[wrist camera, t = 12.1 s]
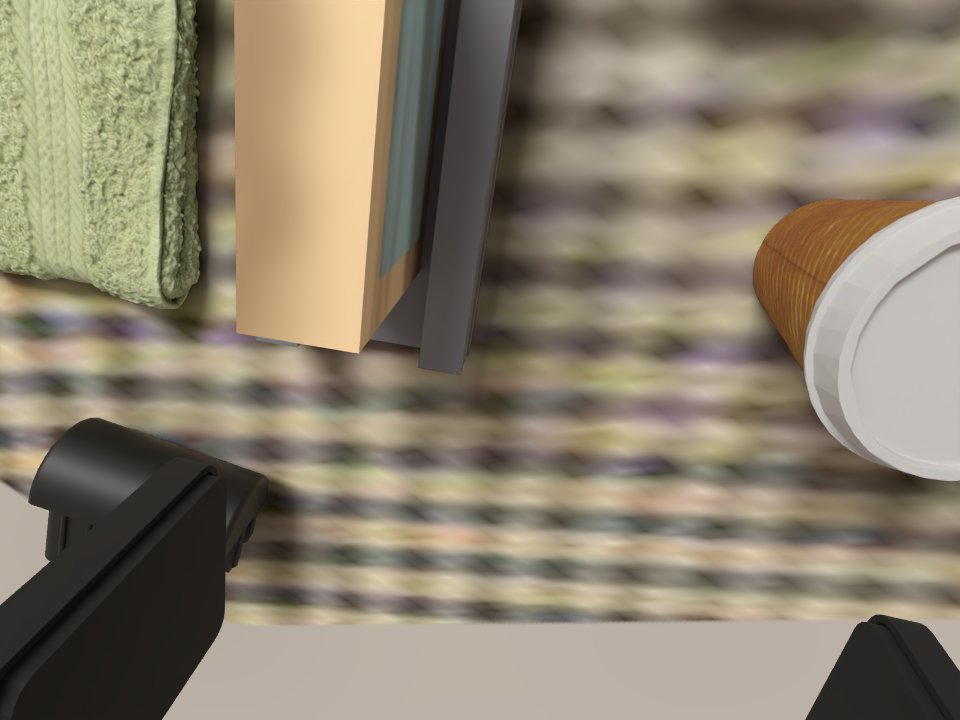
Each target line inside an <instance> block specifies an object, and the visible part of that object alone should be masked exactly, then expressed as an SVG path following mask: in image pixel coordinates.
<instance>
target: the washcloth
mask: <svg viewBox="0 0 960 720" xmlns="http://www.w3.org/2000/svg"><path fill="white" fill-rule="evenodd" d="M197 1H198V0H0V272H7V273H11V274H20V275H32V276H35V277H36V278H40V279H42V280H50V279H56V280H58V279H59V278H60V277H62V278H65V279H68V280H74V281H78V282H83V283H91V284H94V286H95V287H97V288H99V289H100V290H101V291H103V292H108V293H110V294H111V295H112V296H113V297H120V298H121V299H125V300H128V301H130V302H132V303H135V304H137V305H141V306H142V305H148V306H149V307H153V308H156V309H161V310H162V309H177V308H179V307H180V306H181V305H182V304H183V303H184V300H185V299H186V297H187V295H188V292H189V289H190V287H191V285H193V284H195V283H197V281H198V279H199V275H200V272H199V267H200V264H199V253H200V251H201V249H202V248H201V243H200V239H199V237H198V234H197V230H198V228H199V225H198V224H197V217H198V201H197V198H196V191H195V185H196V182H197V181H198V169H197V163H198V152H197V149H196V139H197V135H196V130H195V128H194V126H195V124H196V121H195V116H196V114H195V112H197V111H198V107H197V99H196V98H195V97H196V96H199V94H200V92H199V90H198V89H197V88H195V86H197V85H198V84H199V83H198V81H197V79H196V78H195V75H196V72H197V71H198V68H197V67H196V66H195V62H196V60H195V59H194V57H193V55H194V53H195V52H194V51H195V50H196V47H197V46H196V45H197V43H198V42H197V41H196V39H197V37H198V36H197V34H196V33H195V28H196V27H197V23H196V22H195V21H194V20H193V19H194V15H195V13H196V9H195V4H196V3H197Z"/></svg>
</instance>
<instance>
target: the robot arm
mask: <svg viewBox="0 0 960 720" xmlns="http://www.w3.org/2000/svg"><path fill="white" fill-rule="evenodd" d="M226 510H227V482H226V480H225V479H224V478H222V477H218V472H217V470H216V467H214V466H213V465H210V464H205V463H201V462H196V461H192V460H187V459H183V458H173V459H171V460H170V461H168V462H167V463H166V464H165V465H164V466H163V467H162V468H160V469H159V470H158V471H157V472H156V473H155V474H154V475H152V476H151V477H150V478H149V479H148V480H147V481H146V482H144V483H143V484H142V485H141V486H140V487H139V488H138V489H136V490H135V491H134V492H133V493H132V494H131V495H130V496H128V497H127V498H126V499H125V500H124V501H123V502H122V503H121V504H119V505H118V506H117V507H116V508H115V509H114V510H113V511H111V512H110V513H109V514H108V515H107V516H106V517H105V518H103V519H102V520H101V521H100V522H99V523H98V524H97V525H95V526H94V527H93V528H92V529H91V530H90V531H89V532H88V533H86V534H85V535H84V536H81V537H80V538H78V539H77V540H75V541H74V542H73V543H71V544H70V545H69V546H68V547H67V548H65V549H64V550H63V551H62V552H61V553H60V554H58V555H57V556H56V557H55V558H54V559H53V560H52V561H50V562H49V563H48V564H47V565H46V566H45V567H44V568H42V569H41V570H40V571H39V572H38V573H37V574H36V575H34V576H33V577H32V578H31V579H30V580H29V581H28V582H26V583H25V584H24V585H23V586H22V587H21V588H20V589H18V590H17V591H16V592H15V593H14V594H13V595H11V596H10V597H9V598H8V599H7V600H6V601H5V602H3V603H2V604H1V605H0V720H162V719H163V717H164V716H165V714H166V713H167V711H168V710H169V708H170V707H171V705H172V704H173V702H174V701H175V699H176V698H177V696H178V695H179V693H180V692H181V690H182V689H183V687H184V686H185V684H186V683H187V681H188V680H189V678H190V676H191V675H192V673H193V672H194V670H195V669H196V668H197V666H198V664H199V663H200V662H201V660H202V658H203V657H204V655H205V654H206V652H207V651H208V649H209V648H210V646H211V645H212V643H213V642H214V640H215V638H216V637H217V635H218V633H219V631H220V628H221V626H222V623H223V619H224V613H225V566H226ZM806 720H960V671H959V670H958V668H957V667H956V665H955V664H954V663H953V661H952V660H951V658H950V657H949V656H948V654H947V653H946V651H945V650H944V649H943V647H942V646H941V644H940V643H939V642H938V640H937V639H936V637H935V636H934V634H933V633H932V632H931V631H930V630H929V629H928V628H927V627H926V626H924V625H922V624H920V623H917V622H912V621H908V620H903V619H899V618H894V617H890V616H885V615H874V616H873V617H871V618H870V619H869V620H868V622H861V623H859V624H858V625H857V626H856V627H855V629H854V631H853V632H852V634H851V636H850V638H849V640H848V642H847V644H846V645H845V647H844V649H843V651H842V653H841V655H840V656H839V658H838V660H837V662H836V664H835V666H834V668H833V669H832V671H831V673H830V675H829V677H828V679H827V681H826V682H825V684H824V686H823V688H822V690H821V692H820V693H819V695H818V697H817V699H816V701H815V703H814V705H813V706H812V708H811V710H810V712H809V714H808V716H807V718H806Z"/></svg>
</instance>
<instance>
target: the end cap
mask: <svg viewBox="0 0 960 720" xmlns="http://www.w3.org/2000/svg"><path fill="white" fill-rule="evenodd" d="M173 458H183V459H187V460H192V461H196V462H201V463H205V464H210V465H213V466H214V467H216V470H217V472H218V477H222V478H224V479H225V480H226V482H227V510H226V566H225V572H228V573H229V572H230V570H231V569H232V568H234V567H236V566H237V565H238V561H239V557H240V553H241V548H242V544H243V543H245V542H247V540H248V539H249V538H250V536H251V534H252V532H253V528H254V524H255V520H256V516H257V513H258V510H259V509H260V507H261V506H262V505H263V503H264V502H265V500H266V496H267V490H268V481H267V478H266V476H264V475H262V474H260V473H257V472H254V471H251V470H248V469H245V468H242V467H239V466H236V465H233V464H231V463H228V462H225V461H222V460H219V459H216V458H213V457H210V456H207V455H205V454H202V453H199V452H196V451H193V450H190V449H187V448H184V447H181V446H178V445H176V444H173V443H170V442H167V441H164V440H161V439H158V438H155V437H152V436H150V435H147V434H144V433H141V432H138V431H135V430H132V429H129V428H126V427H123V426H121V425H118V424H115V423H112V422H109V421H106V420H103V419H100V418H89V419H86V420H83V421H81V422H79V423H77V424H75V425H74V426H72V427H71V428H70V429H69V430H67V431H66V432H65V433H64V434H63V435H62V436H61V437H60V438H59V439H58V440H57V441H56V443H55V444H54V445H53V446H52V448H51V449H50V450H49V452H48V453H47V455H46V456H45V458H44V459H43V461H42V463H41V465H40V467H39V469H38V471H37V473H36V475H35V478H34V480H33V483H32V486H31V490H30V494H29V500H28V502H29V503H30V504H31V505H34V506H37V507H40V508H43V509H46V510H49V517H48V528H47V539H46V551H45V557H46V558H47V559H48V560H49V561H52V560H53V559H54V558H55V557H56V556H57V555H58V554H60V553H61V552H62V551H63V550H64V549H65V548H67V547H68V546H69V545H70V544H71V543H73V542H74V541H75V540H77V539H78V538H80V537H81V536H84V535H85V534H86V533H88V532H89V531H90V530H91V529H92V528H93V527H94V526H95V525H97V524H98V523H99V522H100V521H101V520H102V519H103V518H105V517H106V516H107V515H108V514H109V513H110V512H111V511H113V510H114V509H115V508H116V507H117V506H118V505H119V504H121V503H122V502H123V501H124V500H125V499H126V498H127V497H128V496H130V495H131V494H132V493H133V492H134V491H135V490H136V489H138V488H139V487H140V486H141V485H142V484H143V483H144V482H146V481H147V480H148V479H149V478H150V477H151V476H152V475H154V474H155V473H156V472H157V471H158V470H159V469H160V468H162V467H163V466H164V465H165V464H166V463H167V462H168V461H170V460H171V459H173Z"/></svg>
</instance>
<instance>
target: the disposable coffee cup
mask: <svg viewBox="0 0 960 720" xmlns="http://www.w3.org/2000/svg"><path fill="white" fill-rule="evenodd" d="M753 280H754V288H755V291H756V294H757V297H758V299H759V301H760V302H761V304H762V306H763V307H764V309H765V310H766V312H767V313H768V315H769V316H770V318H771V320H772V321H773V323H774V324H775V326H776V328H777V330H778V331H779V333H780V334H781V336H782V338H783V339H784V341H785V342H786V344H787V346H788V347H789V349H790V351H791V353H792V354H793V356H794V357H795V359H796V361H797V362H798V364H799V365H800V367H801V368H802V370H803V372H804V378H805V382H806V386H807V390H808V394H809V398H810V402H811V404H812V406H813V408H814V409H815V411H816V413H817V415H818V417H819V418H820V420H821V421H822V423H823V424H824V426H825V427H826V428H827V430H828V431H829V432H830V434H832V435H833V436H834V437H835V438H836V439H837V440H838V441H839V442H840V443H841V444H842V445H843V446H845V447H846V448H848V449H849V450H850V451H852V452H853V453H855V454H857V455H859V456H861V457H862V458H864V459H866V460H868V461H870V462H873V463H876V464H879V465H882V466H885V467H888V468H891V469H896V470H901V471H903V472H906V473H909V474H913V475H916V476H920V477H923V478H929V479H937V480H944V481H960V197H956V198H952V199H947V200H943V201H938V202H934V201H896V200H892V201H886V200H842V199H829V200H822V201H817V202H813V203H810V204H807V205H805V206H802V207H800V208H798V209H796V210H795V211H793V212H792V213H790V214H789V215H787V216H786V217H784V218H783V219H782V220H780V221H779V222H778V223H777V224H776V225H775V226H774V227H773V228H772V229H771V231H770V232H769V233H768V234H767V236H766V237H765V239H764V241H763V243H762V245H761V247H760V248H759V250H758V253H757V256H756V259H755V262H754V271H753Z"/></svg>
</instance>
